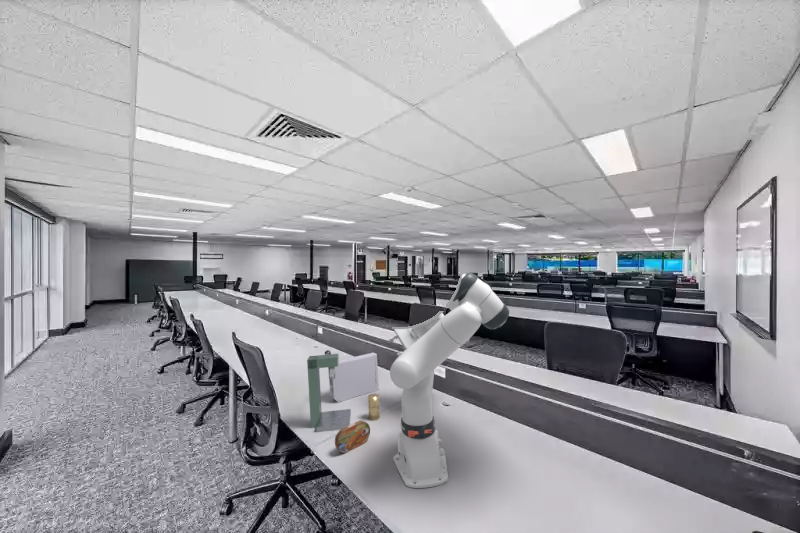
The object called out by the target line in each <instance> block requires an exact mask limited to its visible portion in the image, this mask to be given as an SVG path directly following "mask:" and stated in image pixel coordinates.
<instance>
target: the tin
mask: <svg viewBox="0 0 800 533" xmlns="http://www.w3.org/2000/svg"><path fill="white" fill-rule="evenodd" d="M370 435H371V427H370V424H369V423H368V422H366V421H362V420H357V421H355V422H352V423H350V425H349V426H347V427H345V428H343V429H339V431H338V432H337V434H336V435H335V438H334V445H335V448H336V450H338V451H339V452H340V453H342V454H347V453H349V452H352V451H353V450H354V449H356V448H358V447H361V446H362V445H364V444H365V443H366V442H367V441H368V440H369V437H370Z"/></svg>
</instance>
